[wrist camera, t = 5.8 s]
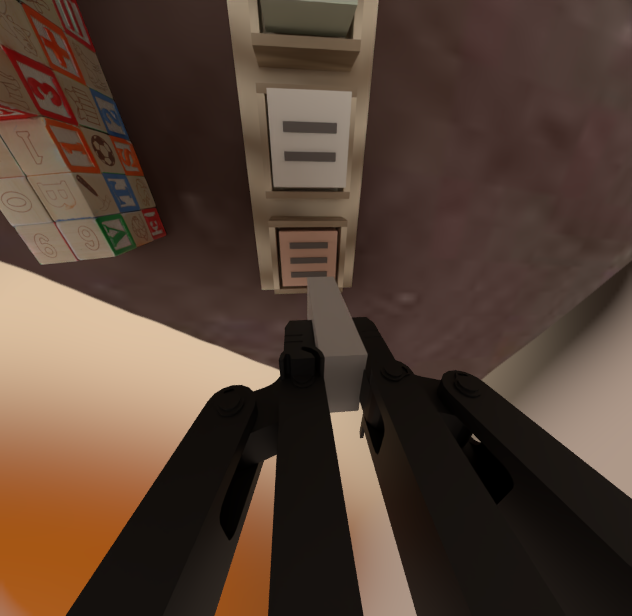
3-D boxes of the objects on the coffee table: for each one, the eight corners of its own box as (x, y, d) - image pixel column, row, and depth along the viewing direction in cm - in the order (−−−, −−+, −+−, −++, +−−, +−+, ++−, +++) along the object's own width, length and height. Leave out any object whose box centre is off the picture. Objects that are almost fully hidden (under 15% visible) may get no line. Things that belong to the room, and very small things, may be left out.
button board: (218, -102, 16) (189, -210, 12) (381, -84, 17) (411, -177, 12) (263, 285, 31) (258, 302, 26) (349, 282, 32) (357, 298, 27)
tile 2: (270, 103, 18) (266, 86, 15) (342, 106, 19) (352, 90, 16) (276, 186, 21) (273, 186, 18) (338, 186, 22) (346, 187, 19)
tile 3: (280, 225, 25) (278, 232, 22) (332, 225, 26) (338, 231, 23) (283, 275, 28) (282, 287, 25) (330, 274, 29) (335, 285, 26)
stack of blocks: (170, 235, 27) (87, 271, 16) (116, 241, 26) (-5, 280, 16) (50, -70, 16) (-442, -582, 5) (-42, -66, 16) (-756, -597, 5)
